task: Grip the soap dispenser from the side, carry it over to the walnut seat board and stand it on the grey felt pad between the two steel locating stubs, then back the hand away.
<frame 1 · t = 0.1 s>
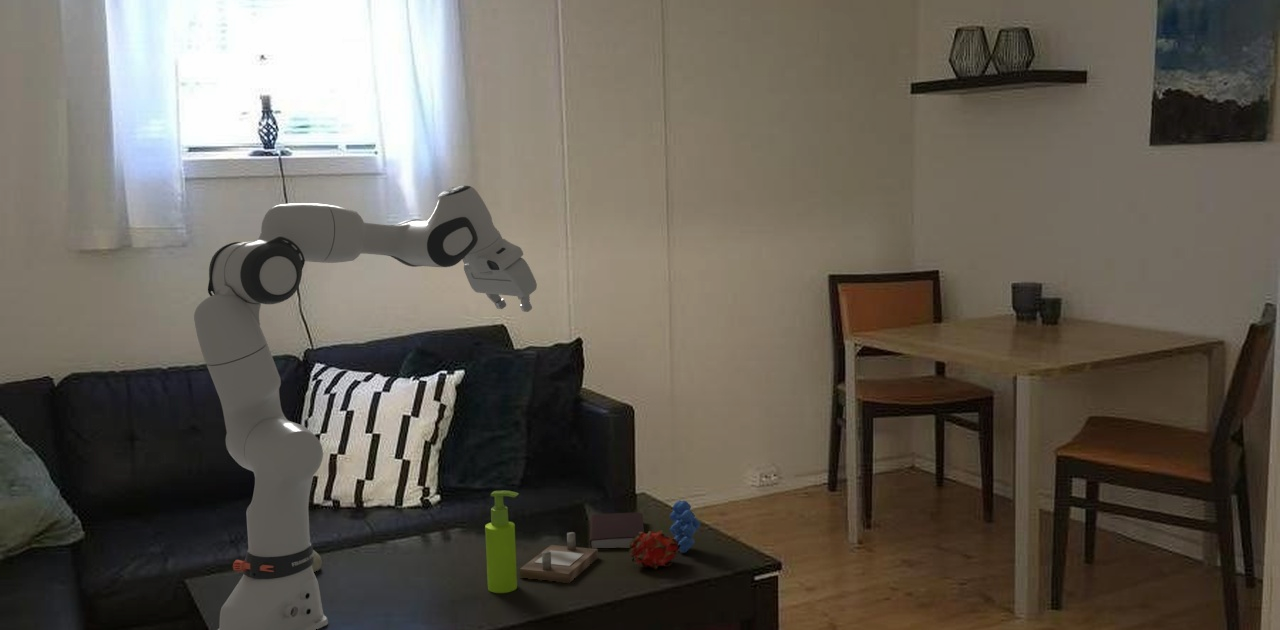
hand: (514, 308, 244), 54 cm above the table, tool tilted 30°, fingers open, 8 cm apart
pin seat: (559, 567, 238), on the table
soap dispenser: (504, 589, 227), on the table
dragon fruit: (655, 566, 239), on the table
book: (617, 538, 260), on the table
grapes: (687, 552, 247), on the table
sea urchin shell: (300, 573, 240), on the table
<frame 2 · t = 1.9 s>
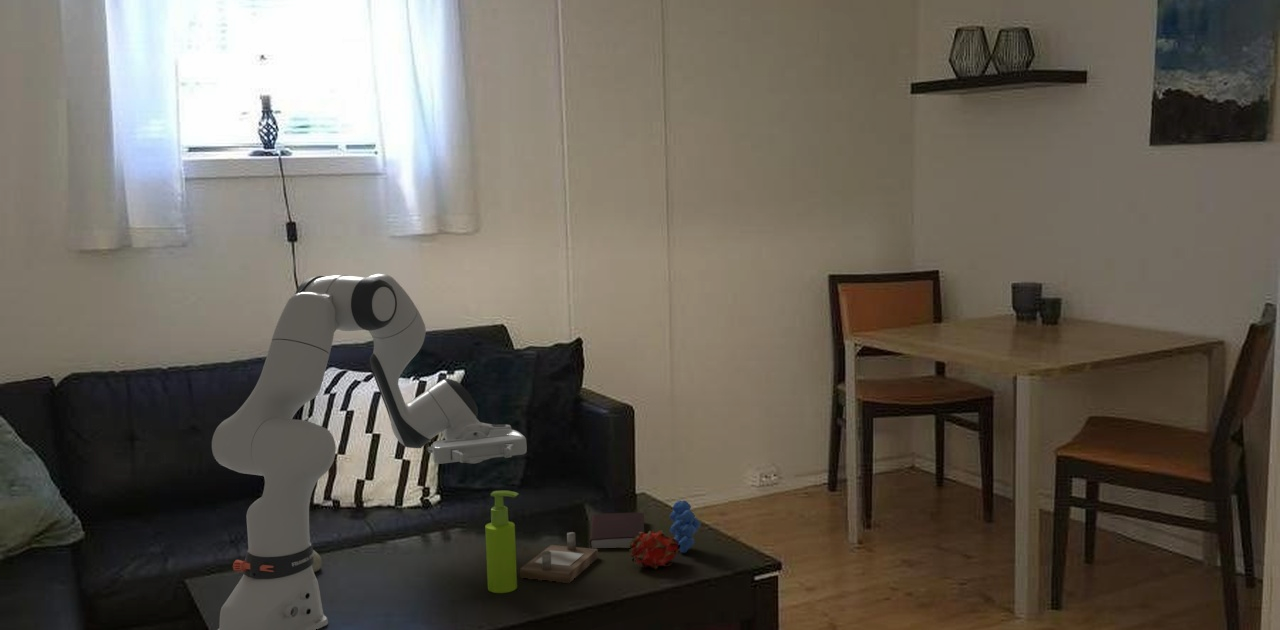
hand: (486, 456, 236), 25 cm above the table, tool horizontal, fingers open, 8 cm apart
nothing on the table moved.
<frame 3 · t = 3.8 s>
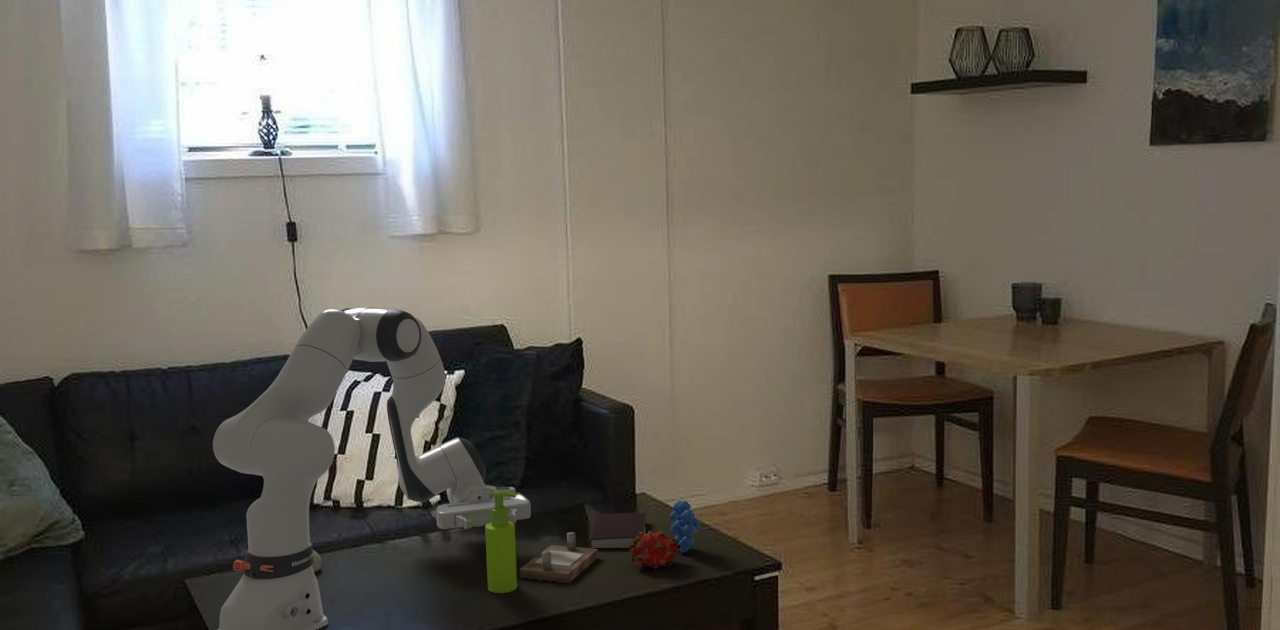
hand: (490, 522, 235), 11 cm above the table, tool horizontal, fingers open, 8 cm apart
nothing on the table moved.
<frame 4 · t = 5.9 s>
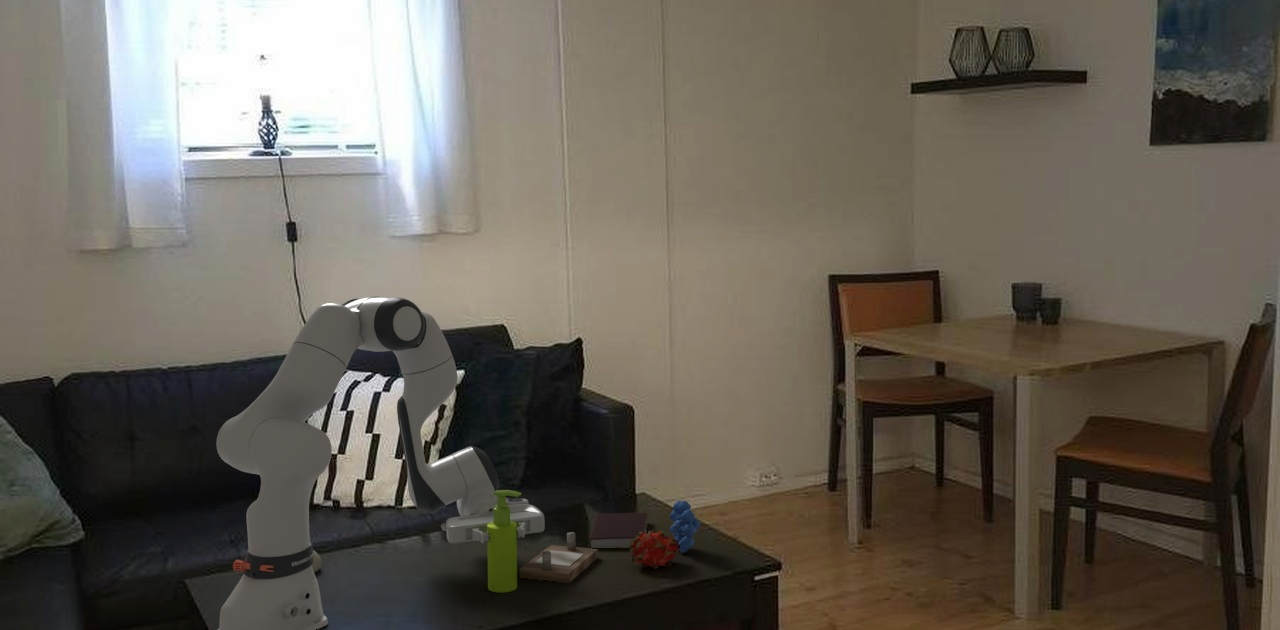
hand: (503, 536, 225), 11 cm above the table, tool horizontal, fingers closed on soap dispenser, 6 cm apart
soap dispenser: (504, 588, 227), on the table, touching gripper
everything else where it was.
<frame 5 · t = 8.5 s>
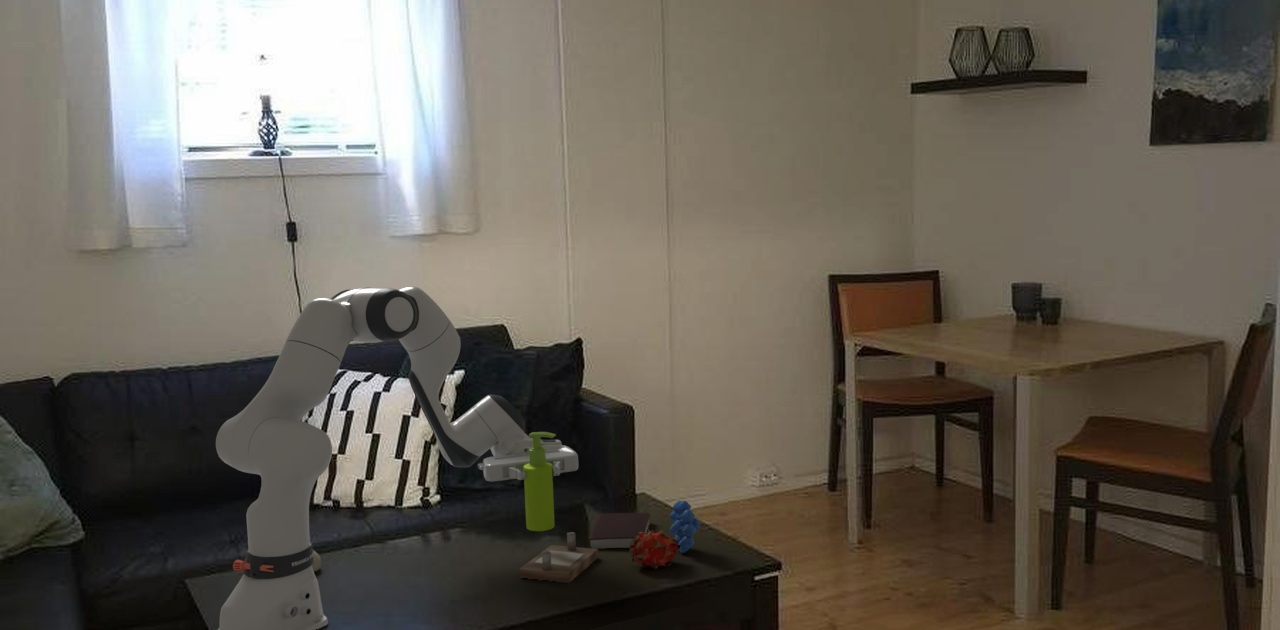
hand: (539, 474, 231), 22 cm above the table, tool horizontal, fingers closed on soap dispenser, 6 cm apart
soap dispenser: (542, 527, 234), point 10 cm above the table, touching gripper
everything else where it was.
when the fingers open (14 cm above the table, at t = 10.7 s): soap dispenser stays where it is, resting on pin seat.
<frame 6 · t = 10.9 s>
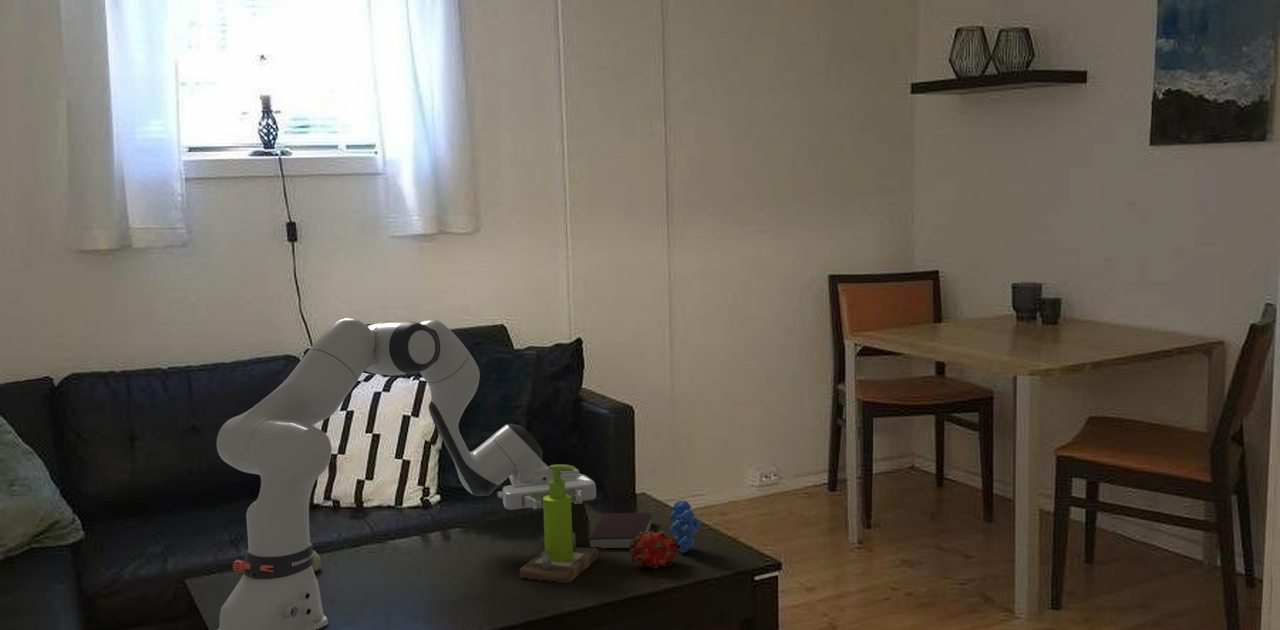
hand: (558, 502, 236), 14 cm above the table, tool horizontal, fingers open, 8 cm apart
soap dispenser: (561, 558, 238), point 2 cm above the table, touching pin seat
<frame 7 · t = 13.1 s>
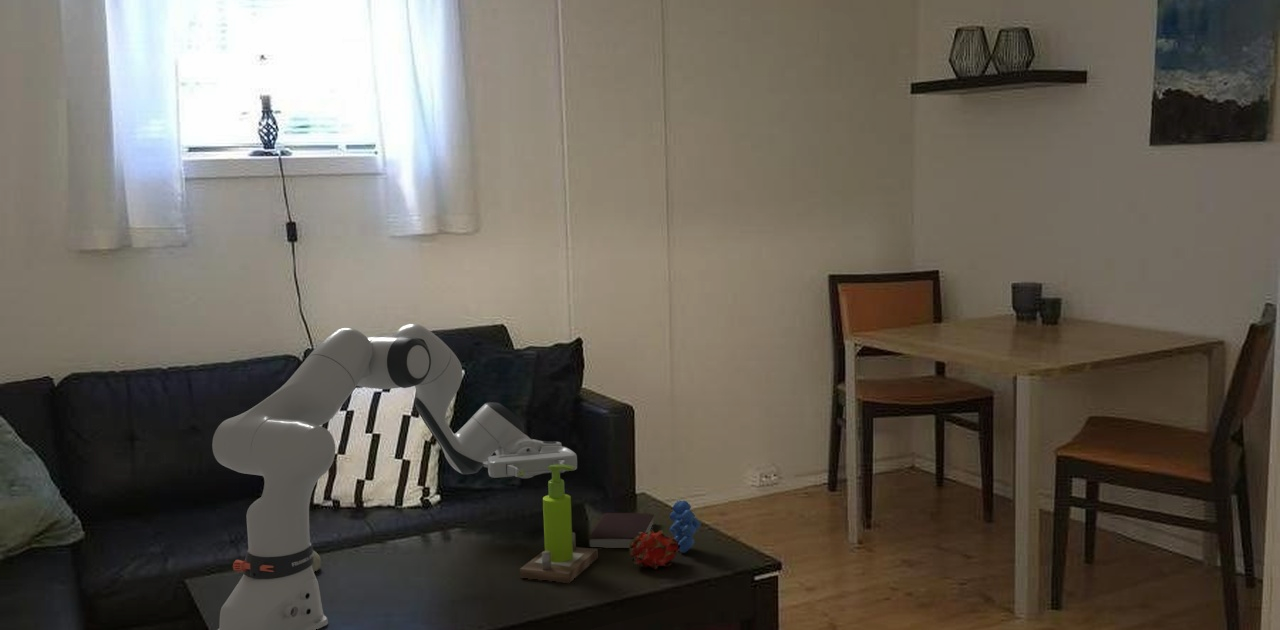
hand: (540, 471, 247), 18 cm above the table, tool horizontal, fingers open, 8 cm apart
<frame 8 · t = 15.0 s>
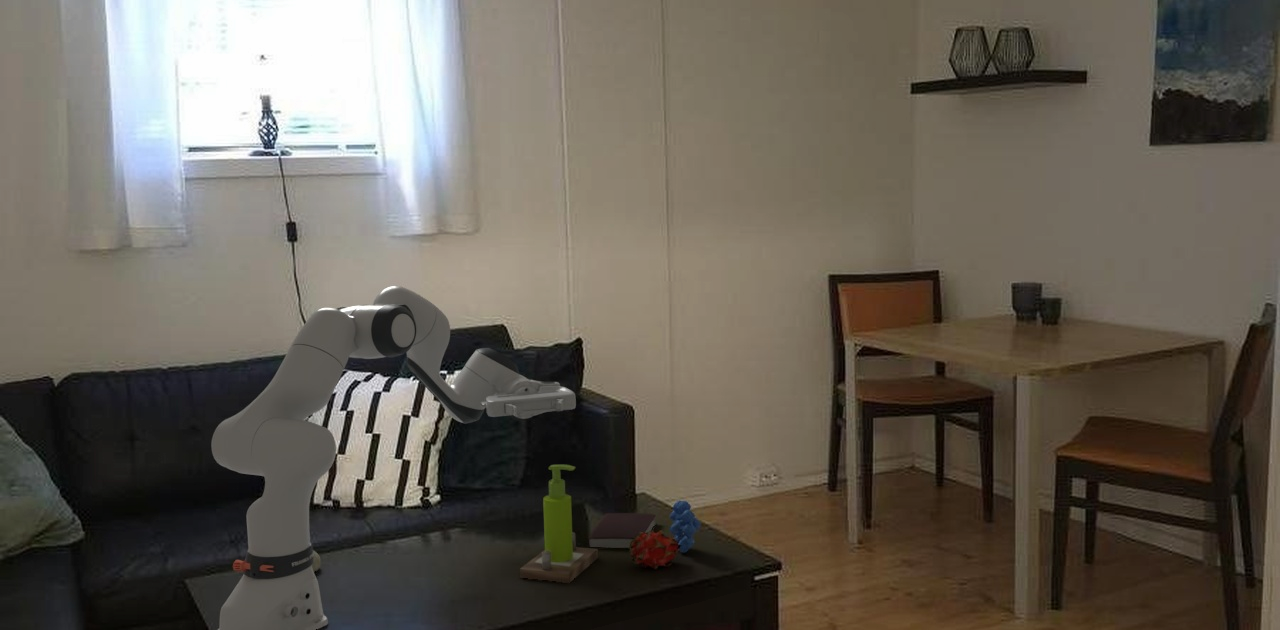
hand: (539, 409, 246), 32 cm above the table, tool horizontal, fingers open, 8 cm apart
at the end: soap dispenser 0.4 cm from the pin seat (horizontally); soap dispenser tilted 0°; soap dispenser touching pin seat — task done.
